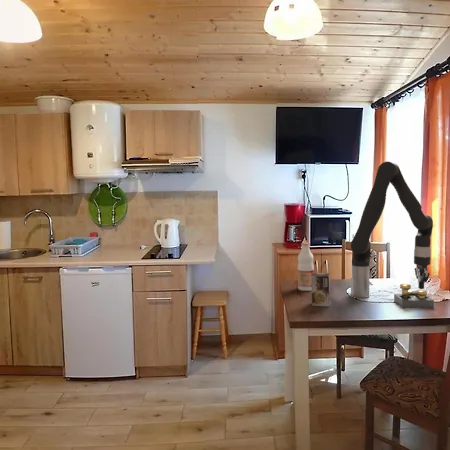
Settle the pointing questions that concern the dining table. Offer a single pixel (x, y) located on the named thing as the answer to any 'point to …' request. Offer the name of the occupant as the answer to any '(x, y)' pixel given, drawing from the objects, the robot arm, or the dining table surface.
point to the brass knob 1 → (405, 290)
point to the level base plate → (413, 301)
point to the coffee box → (320, 289)
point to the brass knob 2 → (421, 293)
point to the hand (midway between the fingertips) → (421, 288)
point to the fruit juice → (305, 268)
